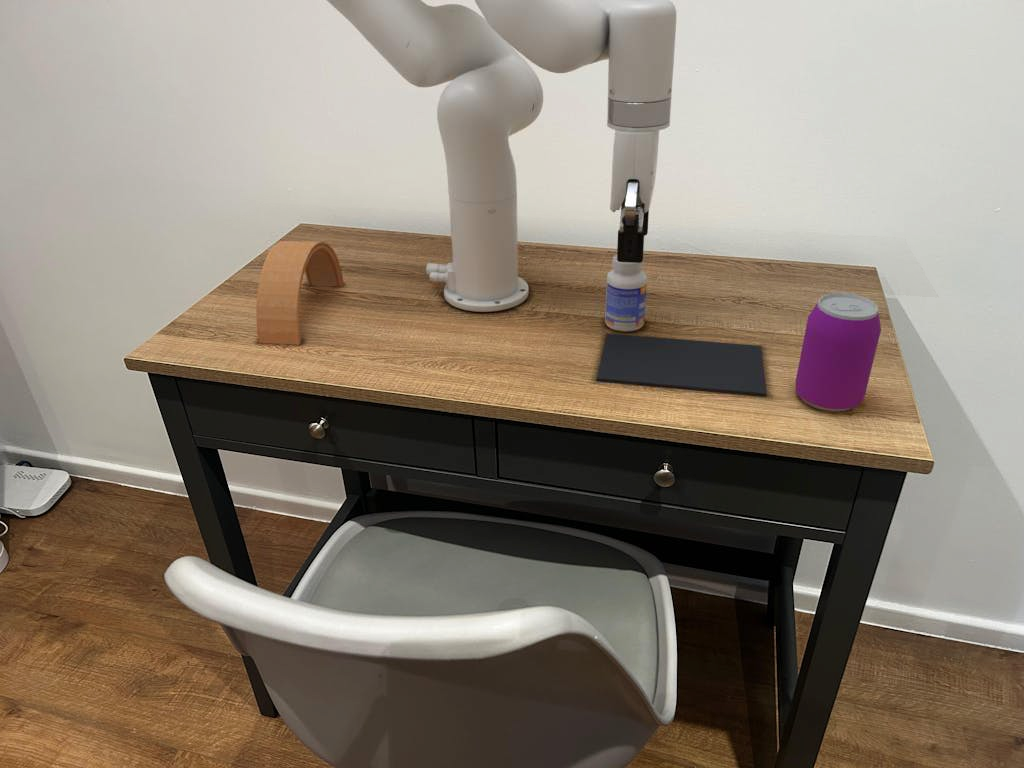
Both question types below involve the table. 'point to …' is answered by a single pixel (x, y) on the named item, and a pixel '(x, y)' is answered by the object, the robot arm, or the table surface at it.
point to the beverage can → (838, 352)
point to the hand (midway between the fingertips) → (632, 247)
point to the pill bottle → (625, 296)
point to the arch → (291, 286)
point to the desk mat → (683, 364)
